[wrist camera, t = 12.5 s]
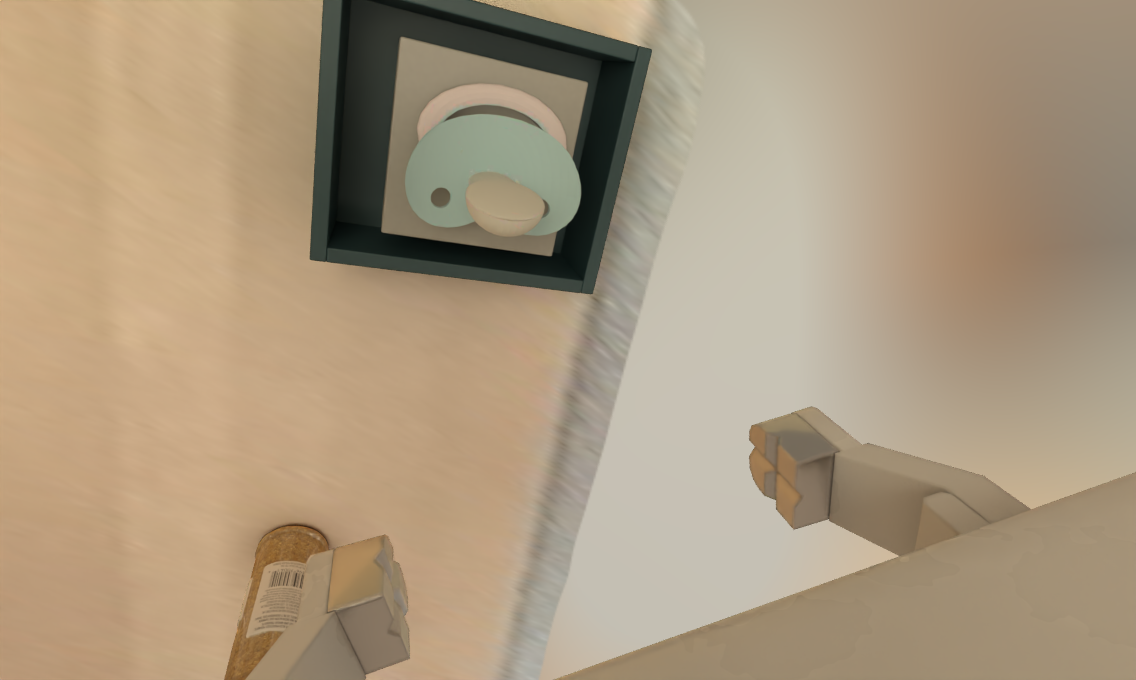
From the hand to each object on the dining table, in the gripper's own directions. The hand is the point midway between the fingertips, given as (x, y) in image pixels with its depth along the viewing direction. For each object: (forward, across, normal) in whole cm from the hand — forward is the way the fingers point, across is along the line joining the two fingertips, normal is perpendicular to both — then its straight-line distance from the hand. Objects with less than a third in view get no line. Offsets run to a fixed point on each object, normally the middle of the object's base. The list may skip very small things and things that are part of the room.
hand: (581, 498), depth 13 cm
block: (+23, -1, -4) cm, 24 cm away
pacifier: (+18, -2, -4) cm, 18 cm away
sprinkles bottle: (+24, +16, +20) cm, 35 cm away
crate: (+24, -1, -4) cm, 25 cm away
